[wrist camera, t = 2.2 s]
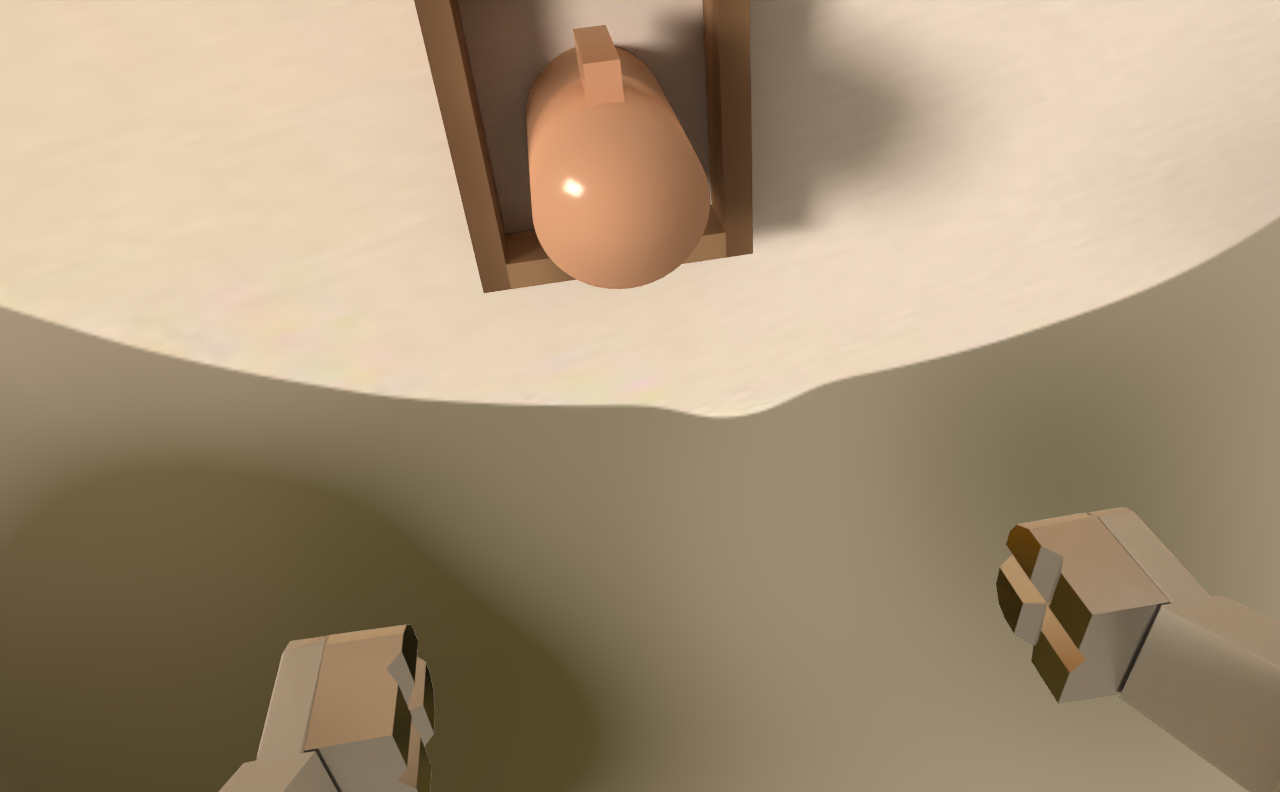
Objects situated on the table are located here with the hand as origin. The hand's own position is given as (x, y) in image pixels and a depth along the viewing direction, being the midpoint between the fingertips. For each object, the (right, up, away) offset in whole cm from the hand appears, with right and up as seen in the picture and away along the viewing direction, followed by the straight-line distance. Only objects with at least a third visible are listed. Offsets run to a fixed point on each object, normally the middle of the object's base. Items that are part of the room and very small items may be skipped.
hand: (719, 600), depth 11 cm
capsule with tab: (-3, +13, +18) cm, 22 cm away
